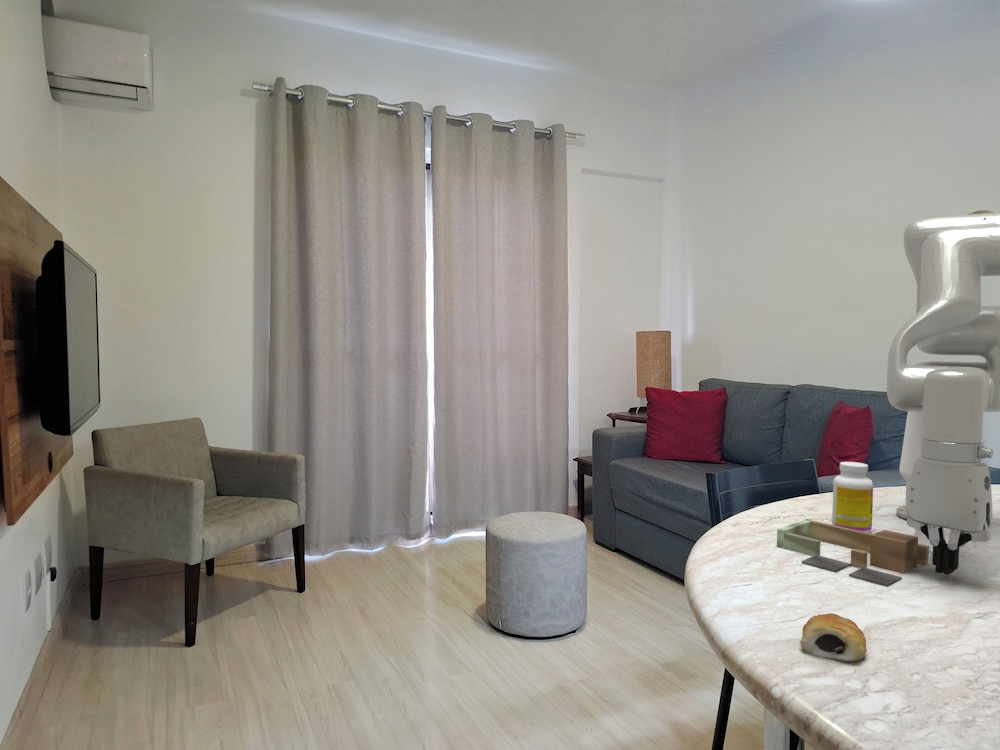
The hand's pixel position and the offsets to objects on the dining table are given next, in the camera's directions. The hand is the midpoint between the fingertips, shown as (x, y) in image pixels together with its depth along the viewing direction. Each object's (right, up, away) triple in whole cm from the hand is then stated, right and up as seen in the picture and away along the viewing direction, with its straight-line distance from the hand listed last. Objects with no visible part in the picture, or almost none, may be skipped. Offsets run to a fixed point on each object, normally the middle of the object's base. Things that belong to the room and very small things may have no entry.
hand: (945, 572), depth 101 cm
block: (-4, -1, +6) cm, 7 cm away
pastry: (-28, -3, -22) cm, 36 cm away
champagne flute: (+6, 0, +17) cm, 18 cm away
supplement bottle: (-1, 0, +25) cm, 25 cm away
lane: (-11, 0, +9) cm, 14 cm away
